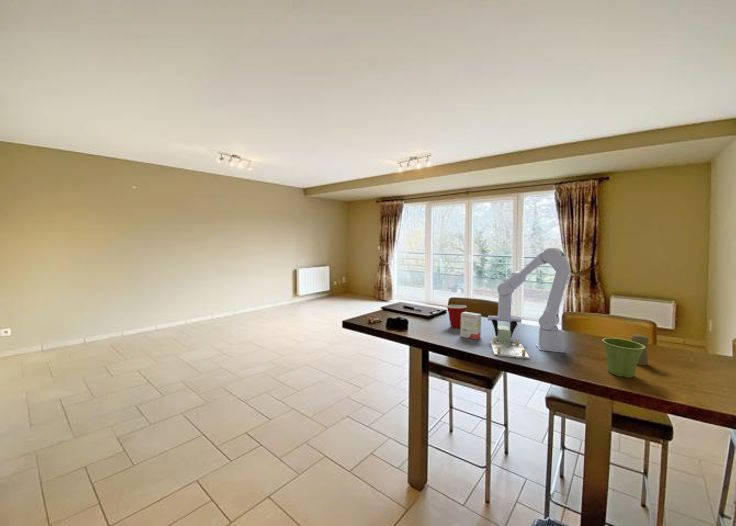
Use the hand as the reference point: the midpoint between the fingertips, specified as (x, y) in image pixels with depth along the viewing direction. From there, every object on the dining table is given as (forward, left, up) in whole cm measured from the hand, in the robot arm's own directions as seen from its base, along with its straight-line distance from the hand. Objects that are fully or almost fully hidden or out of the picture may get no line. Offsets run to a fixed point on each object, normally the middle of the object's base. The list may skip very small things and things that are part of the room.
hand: (503, 336), depth 150 cm
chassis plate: (0, +16, -2) cm, 16 cm away
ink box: (+15, +1, -2) cm, 15 cm away
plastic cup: (+22, -16, -2) cm, 27 cm away
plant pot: (-35, +30, -2) cm, 46 cm away
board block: (0, 0, -2) cm, 2 cm away
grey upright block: (-47, +15, -2) cm, 49 cm away
